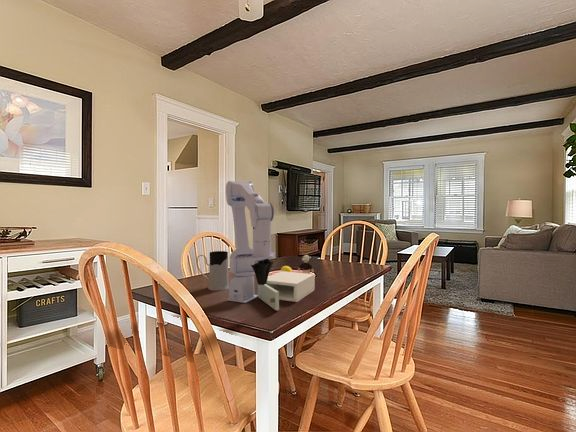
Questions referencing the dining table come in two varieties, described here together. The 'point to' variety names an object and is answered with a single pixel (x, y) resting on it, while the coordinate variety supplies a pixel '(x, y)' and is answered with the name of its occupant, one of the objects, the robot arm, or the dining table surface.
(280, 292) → the cabinet
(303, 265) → the grandmother figurine
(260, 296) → the door
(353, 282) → the dining table surface
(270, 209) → the robot arm
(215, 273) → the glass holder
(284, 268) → the lemon
